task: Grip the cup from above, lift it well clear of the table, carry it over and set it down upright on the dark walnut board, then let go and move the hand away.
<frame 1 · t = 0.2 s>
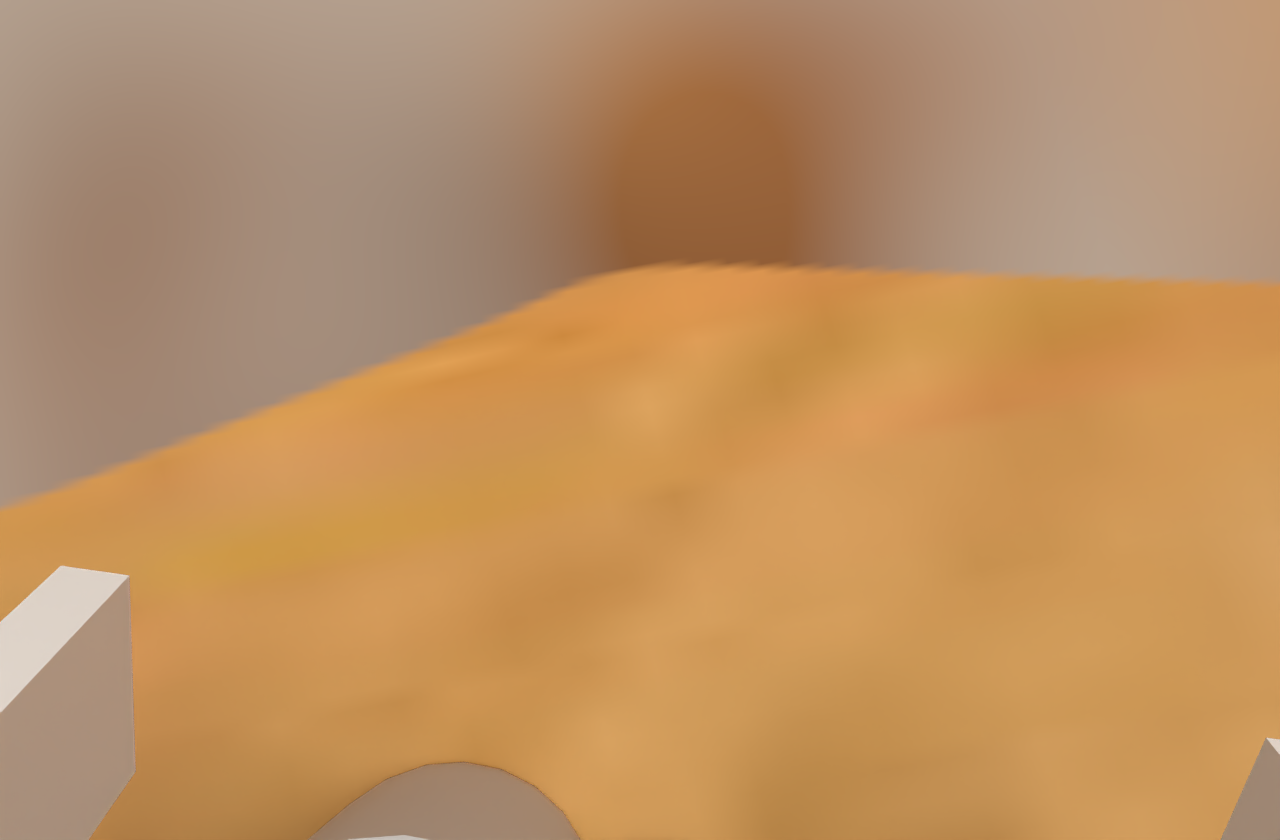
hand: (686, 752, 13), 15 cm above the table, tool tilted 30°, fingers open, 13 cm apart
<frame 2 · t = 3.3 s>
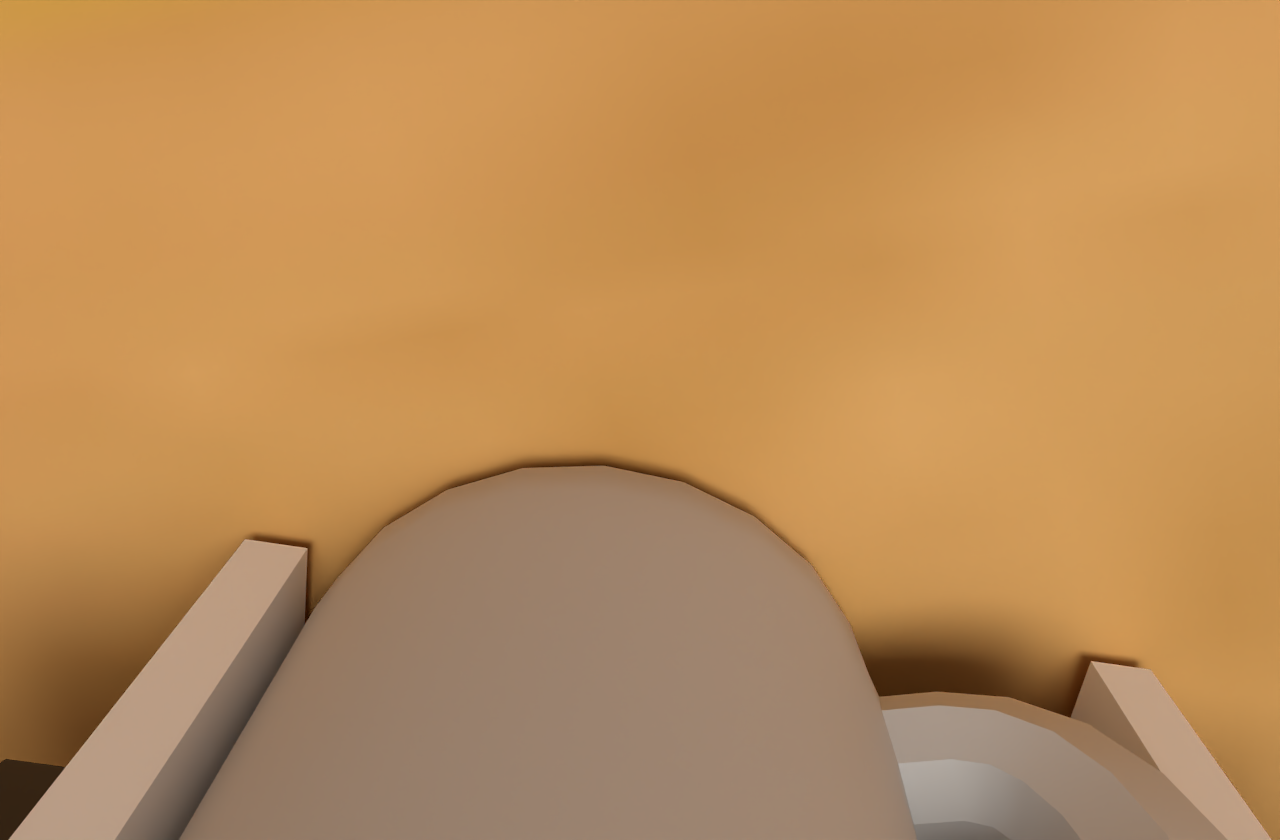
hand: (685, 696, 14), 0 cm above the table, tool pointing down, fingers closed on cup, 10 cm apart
cup: (692, 680, 14), on the table, touching gripper
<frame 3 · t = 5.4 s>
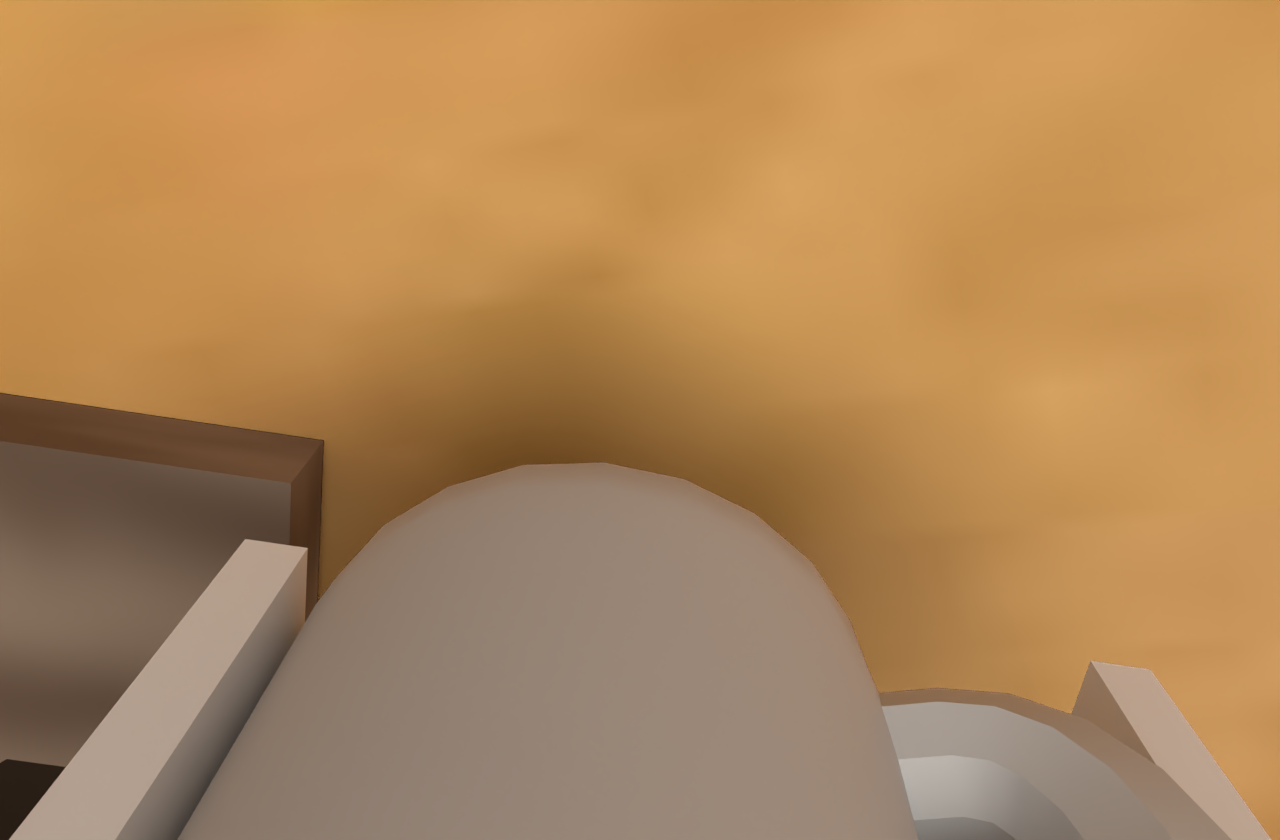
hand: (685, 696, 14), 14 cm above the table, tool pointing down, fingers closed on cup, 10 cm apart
cup: (692, 677, 14), point 13 cm above the table, touching gripper
board: (81, 665, 30), on the table
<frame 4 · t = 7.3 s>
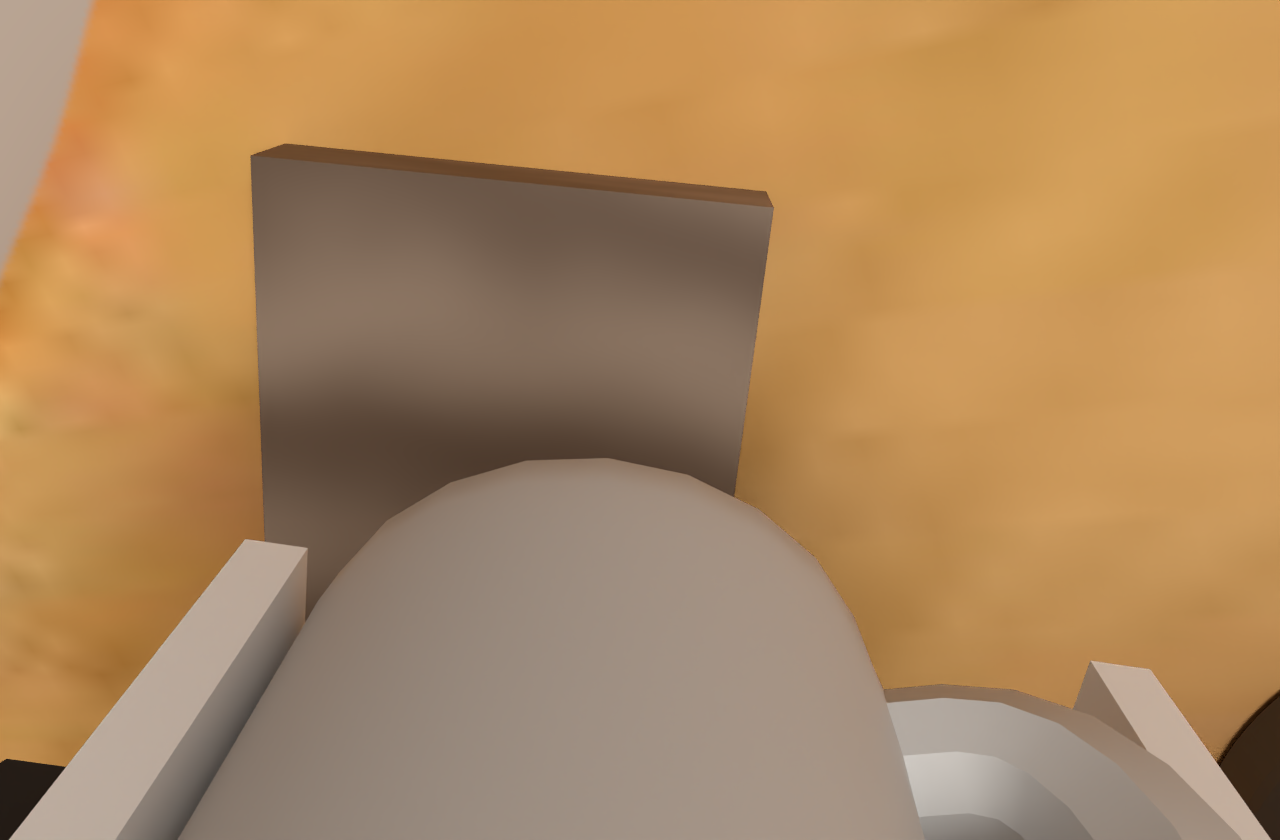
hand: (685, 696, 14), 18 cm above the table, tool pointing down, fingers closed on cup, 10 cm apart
cup: (695, 674, 14), point 17 cm above the table, touching gripper
board: (510, 441, 32), on the table
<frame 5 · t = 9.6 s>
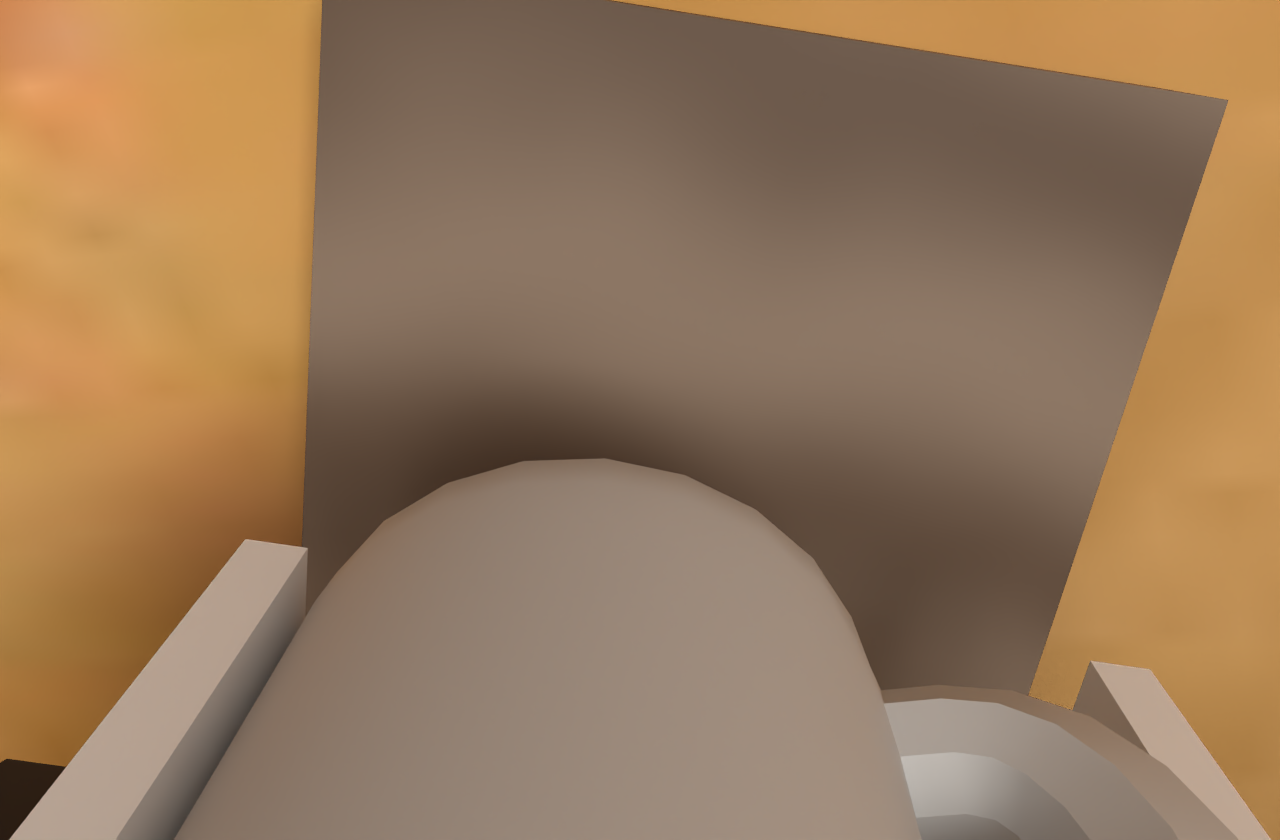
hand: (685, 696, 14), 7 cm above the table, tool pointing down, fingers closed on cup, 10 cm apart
cup: (693, 674, 14), point 7 cm above the table, touching gripper
board: (687, 467, 20), on the table
when the fingers open (4 cm above the table, at t = 11.2 s): cup drops 1 cm, resting on board.
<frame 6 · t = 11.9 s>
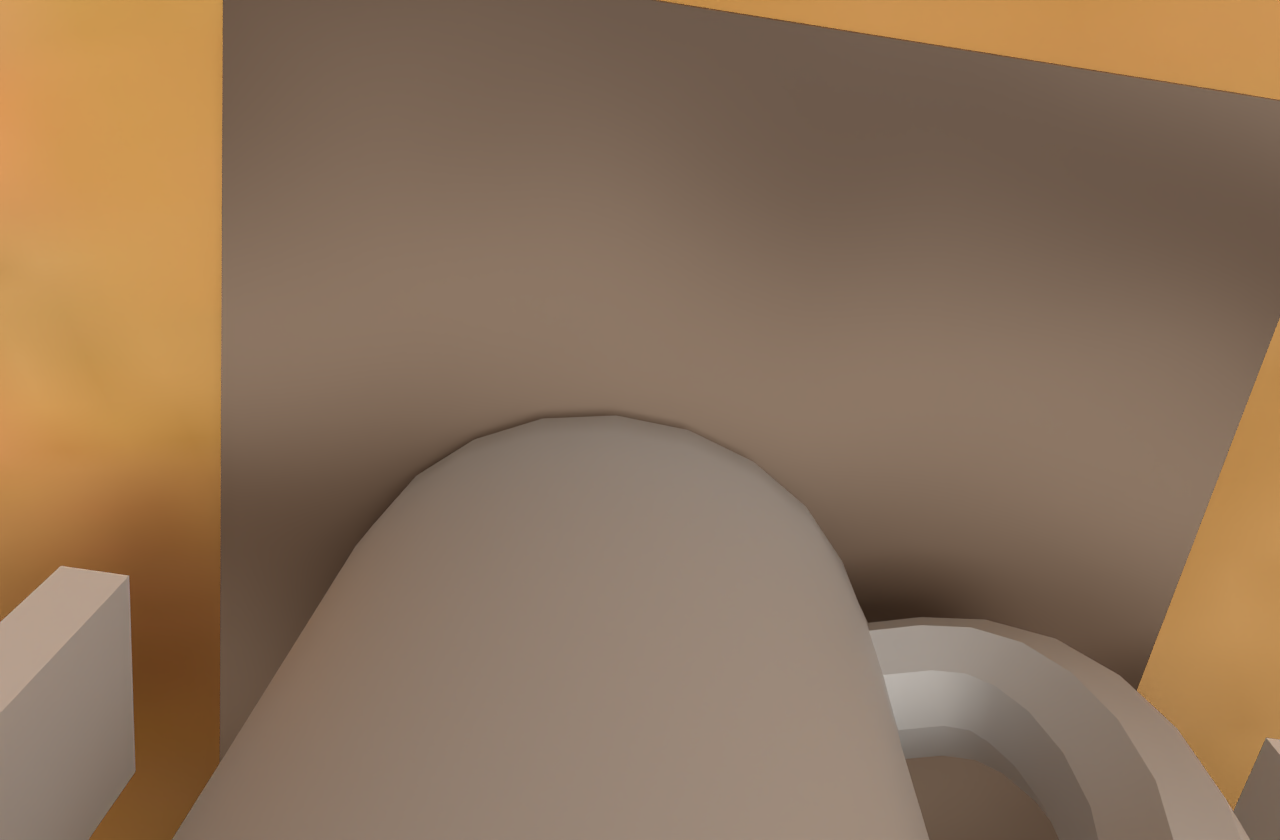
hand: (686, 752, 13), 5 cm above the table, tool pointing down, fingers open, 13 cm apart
cup: (699, 620, 15), point 2 cm above the table, touching board
board: (682, 541, 17), on the table
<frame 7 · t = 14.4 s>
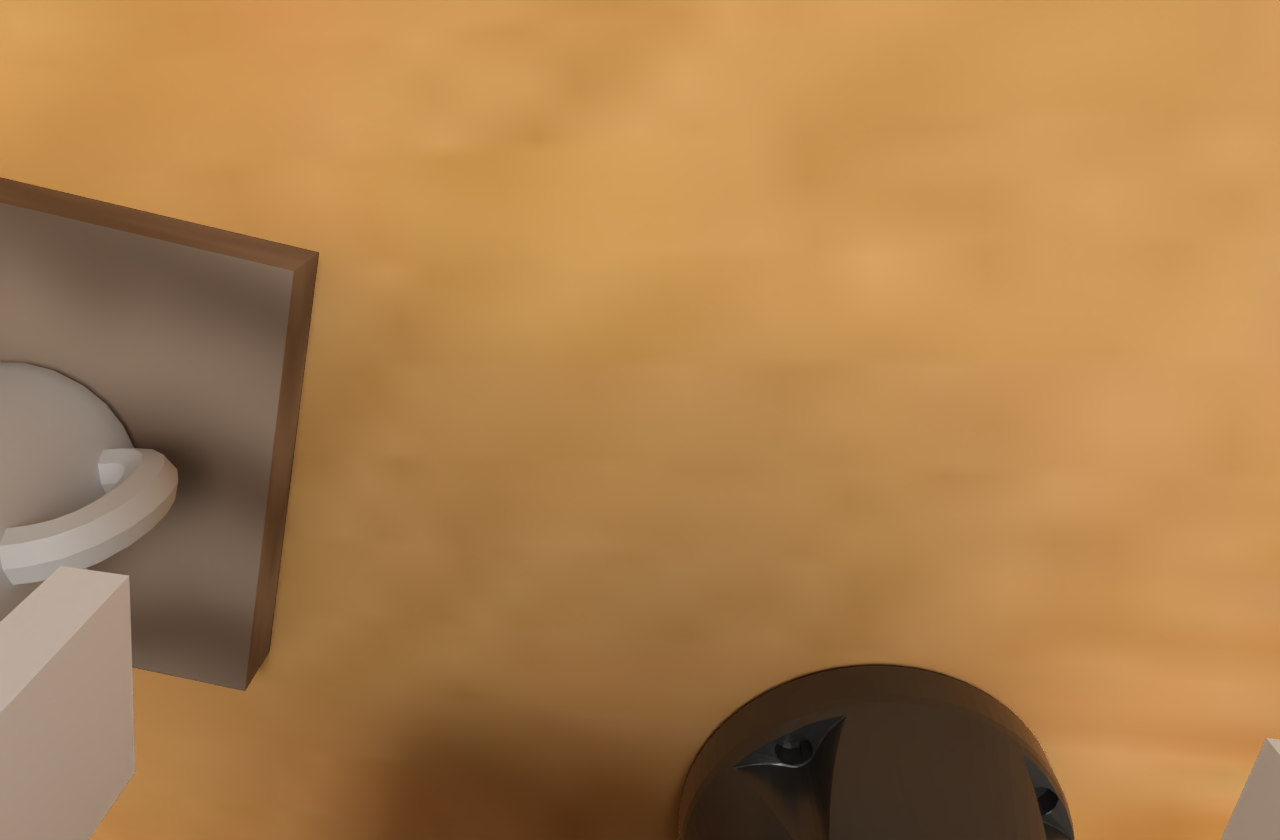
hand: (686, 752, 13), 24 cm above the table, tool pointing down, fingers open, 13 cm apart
cup: (81, 452, 36), point 2 cm above the table, touching board
board: (109, 426, 38), on the table
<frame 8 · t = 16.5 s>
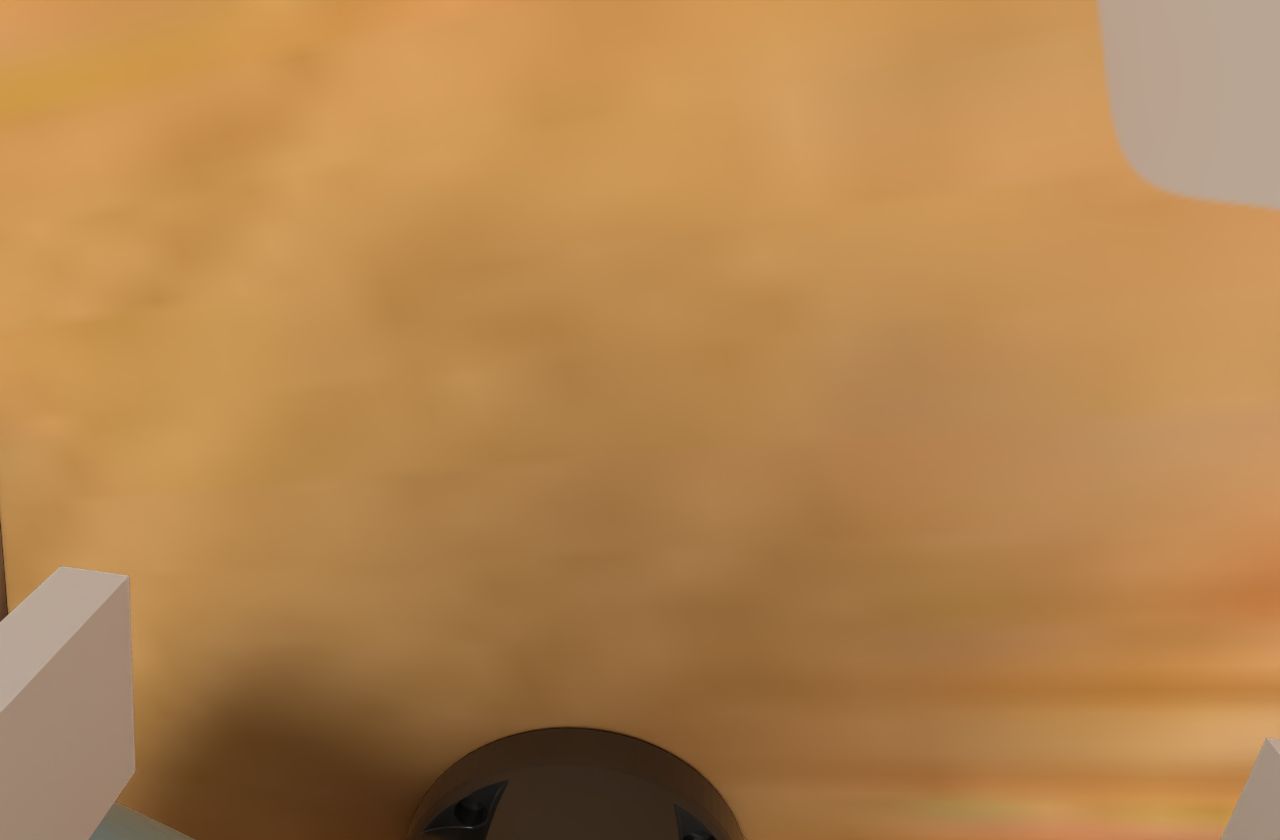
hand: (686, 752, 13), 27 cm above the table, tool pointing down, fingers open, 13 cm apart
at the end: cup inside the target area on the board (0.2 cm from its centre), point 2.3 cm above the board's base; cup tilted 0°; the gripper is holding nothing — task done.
